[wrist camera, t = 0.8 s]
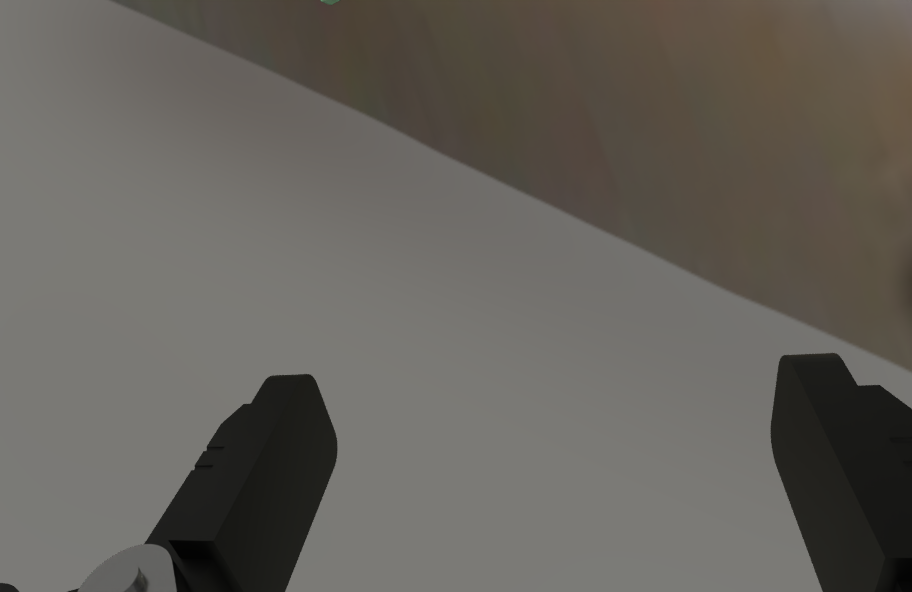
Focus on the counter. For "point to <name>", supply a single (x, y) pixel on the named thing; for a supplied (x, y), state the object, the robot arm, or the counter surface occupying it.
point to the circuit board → (330, 1)
